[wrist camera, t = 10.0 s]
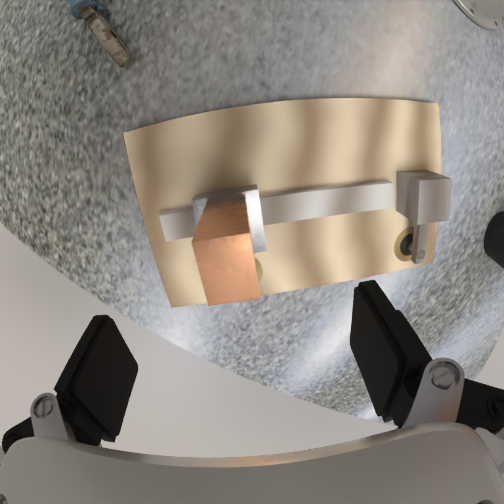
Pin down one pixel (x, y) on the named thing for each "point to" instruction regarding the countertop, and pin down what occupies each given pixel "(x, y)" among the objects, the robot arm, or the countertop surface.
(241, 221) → the block
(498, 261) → the travel mug
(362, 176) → the wooden slide jig
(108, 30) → the pliers
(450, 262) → the countertop surface
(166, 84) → the countertop surface
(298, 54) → the countertop surface
